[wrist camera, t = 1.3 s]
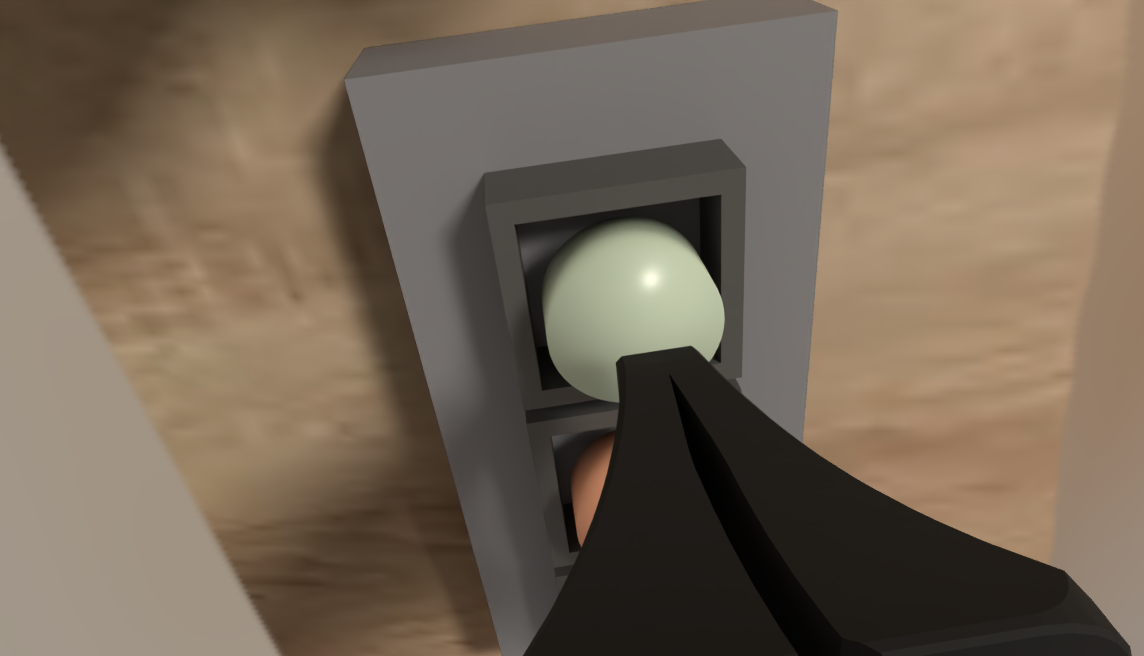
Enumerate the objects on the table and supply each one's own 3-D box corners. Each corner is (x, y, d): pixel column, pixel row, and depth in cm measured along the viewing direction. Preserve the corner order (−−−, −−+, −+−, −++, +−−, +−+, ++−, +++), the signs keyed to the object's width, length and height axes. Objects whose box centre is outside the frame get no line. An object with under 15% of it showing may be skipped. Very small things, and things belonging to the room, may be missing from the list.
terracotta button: (707, 514, 20) (723, 561, 19) (577, 535, 20) (584, 583, 19) (705, 413, 18) (724, 457, 17) (562, 435, 18) (569, 481, 17)
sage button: (705, 347, 17) (724, 389, 16) (552, 370, 17) (558, 414, 16) (703, 204, 15) (724, 237, 14) (530, 229, 15) (534, 265, 14)
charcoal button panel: (759, 570, 29) (805, 685, 25) (507, 610, 28) (511, 734, 24) (785, -11, 17) (878, 27, 13) (364, 48, 17) (328, 104, 13)
